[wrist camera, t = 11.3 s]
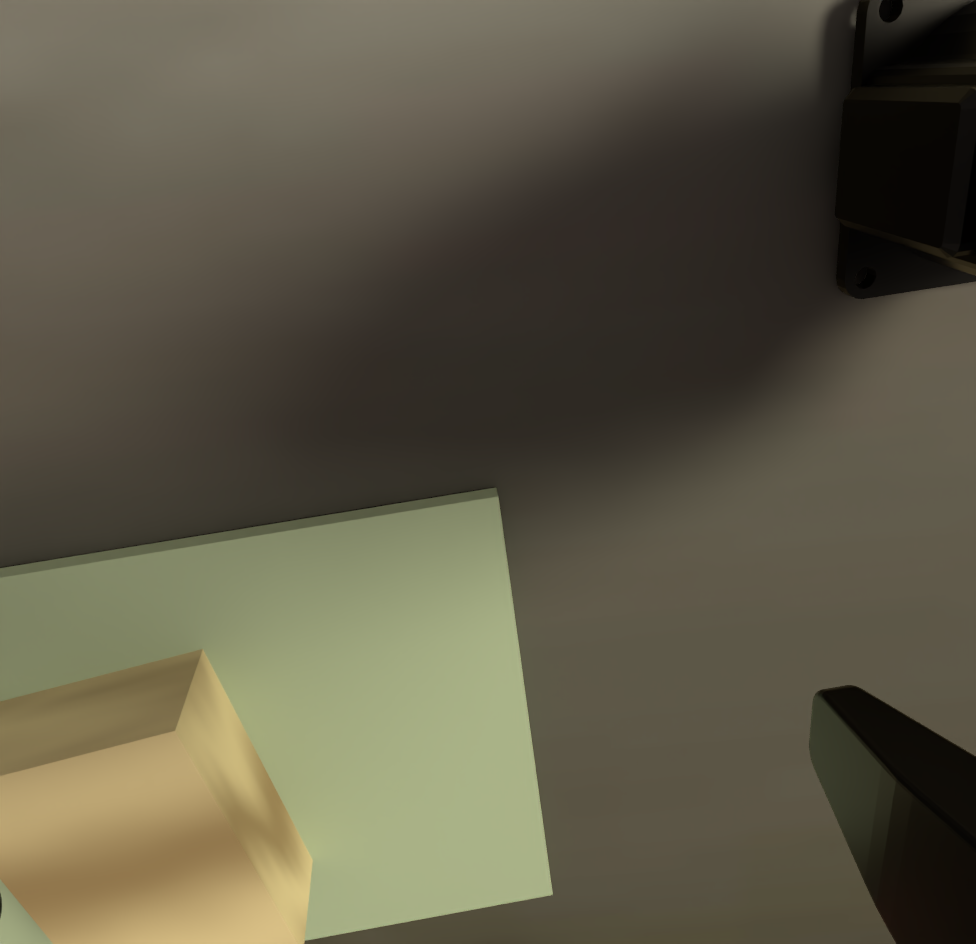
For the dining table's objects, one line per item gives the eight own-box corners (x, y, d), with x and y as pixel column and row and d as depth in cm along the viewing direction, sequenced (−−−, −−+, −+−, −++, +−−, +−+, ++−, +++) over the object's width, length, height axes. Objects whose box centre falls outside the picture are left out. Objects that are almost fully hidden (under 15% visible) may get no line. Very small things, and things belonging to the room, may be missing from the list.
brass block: (312, 860, 25) (303, 952, 22) (133, 906, 25) (102, 1004, 23) (202, 648, 21) (175, 730, 18) (-12, 704, 21) (-70, 794, 18)
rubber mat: (496, 487, 20) (498, 496, 20) (550, 881, 28) (552, 894, 27) (-371, 628, 20) (-389, 641, 19) (-80, 997, 27) (-89, 1013, 26)
